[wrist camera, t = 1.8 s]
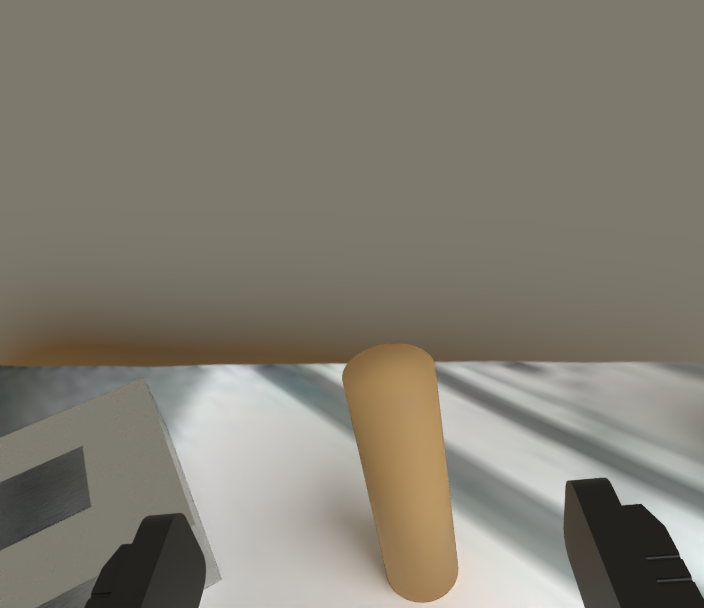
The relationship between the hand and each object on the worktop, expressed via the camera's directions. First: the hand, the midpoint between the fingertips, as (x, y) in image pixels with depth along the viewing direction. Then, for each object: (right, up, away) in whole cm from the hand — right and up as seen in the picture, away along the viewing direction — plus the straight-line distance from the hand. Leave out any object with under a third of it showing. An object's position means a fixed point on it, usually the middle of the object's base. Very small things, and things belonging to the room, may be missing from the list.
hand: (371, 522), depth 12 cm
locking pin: (+3, -10, +19) cm, 22 cm away
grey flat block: (-19, -11, +24) cm, 33 cm away
